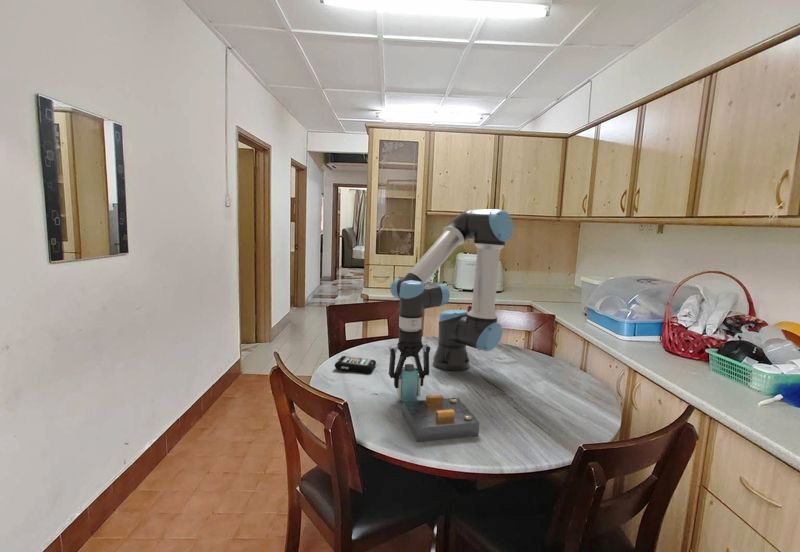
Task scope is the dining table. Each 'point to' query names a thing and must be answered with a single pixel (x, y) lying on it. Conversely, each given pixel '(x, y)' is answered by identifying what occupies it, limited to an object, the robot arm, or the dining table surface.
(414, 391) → the pump
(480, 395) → the dining table surface
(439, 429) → the fixture block
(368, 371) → the phone
